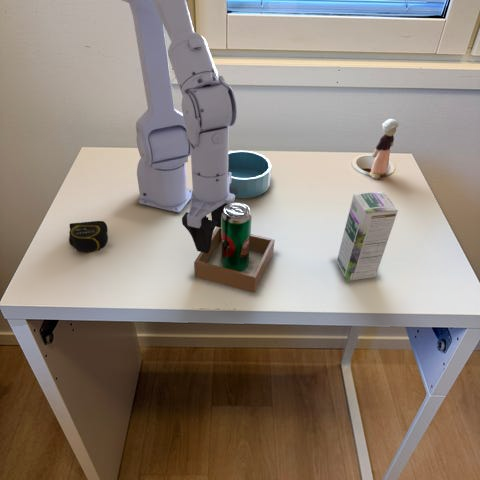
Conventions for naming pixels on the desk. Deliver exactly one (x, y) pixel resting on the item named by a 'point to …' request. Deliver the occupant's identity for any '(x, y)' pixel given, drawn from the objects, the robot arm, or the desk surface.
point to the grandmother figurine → (383, 149)
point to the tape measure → (88, 236)
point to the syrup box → (366, 235)
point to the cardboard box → (232, 276)
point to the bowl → (249, 173)
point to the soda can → (235, 236)
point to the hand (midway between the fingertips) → (211, 238)
